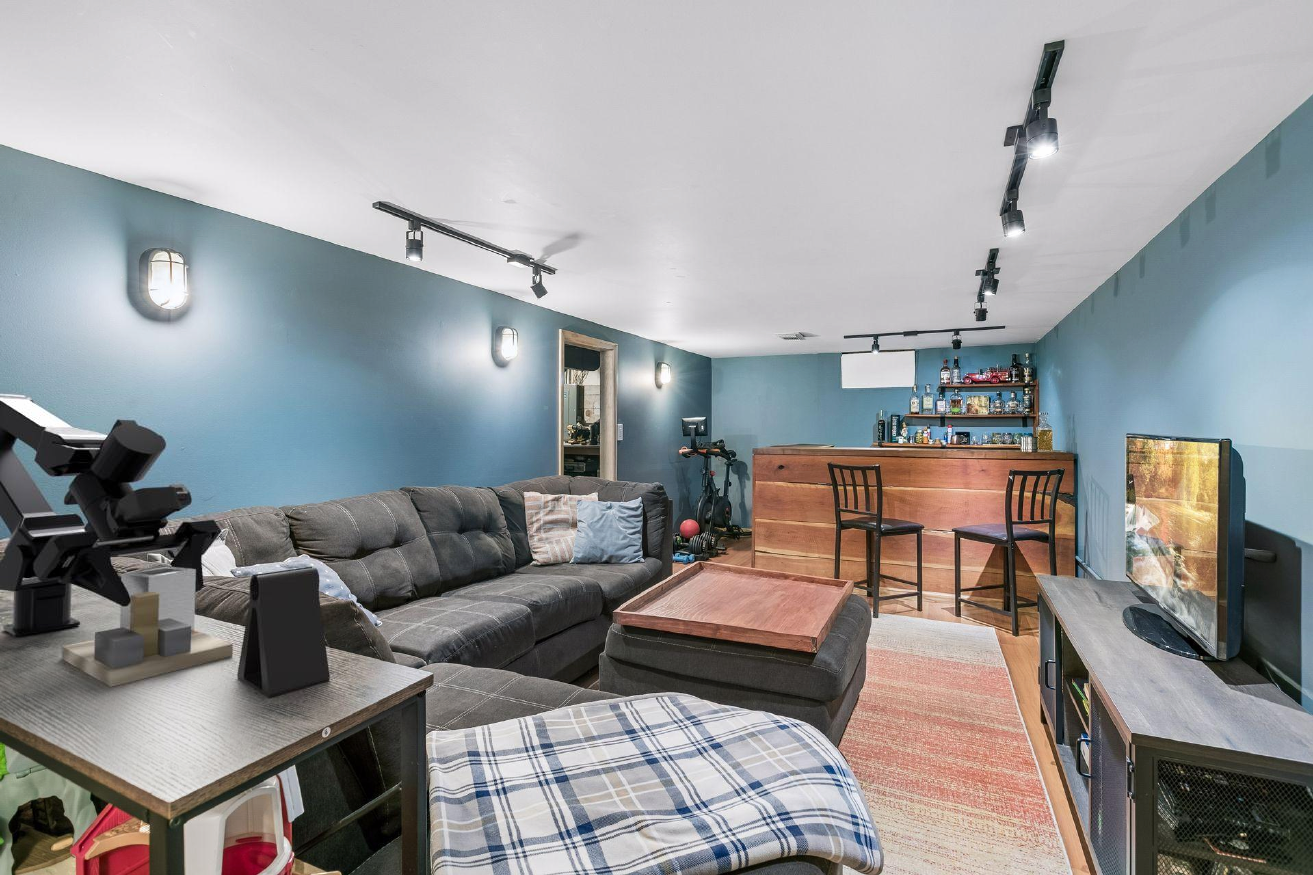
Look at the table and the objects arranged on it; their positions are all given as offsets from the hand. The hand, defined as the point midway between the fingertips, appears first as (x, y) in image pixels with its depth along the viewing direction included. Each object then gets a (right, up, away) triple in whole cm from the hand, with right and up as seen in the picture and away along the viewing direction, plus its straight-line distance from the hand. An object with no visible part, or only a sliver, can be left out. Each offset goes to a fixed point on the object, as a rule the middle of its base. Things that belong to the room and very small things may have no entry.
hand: (166, 596), depth 77 cm
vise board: (+1, -6, -4) cm, 8 cm away
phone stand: (+21, -7, -10) cm, 25 cm away
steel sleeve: (-1, -5, 0) cm, 5 cm away
